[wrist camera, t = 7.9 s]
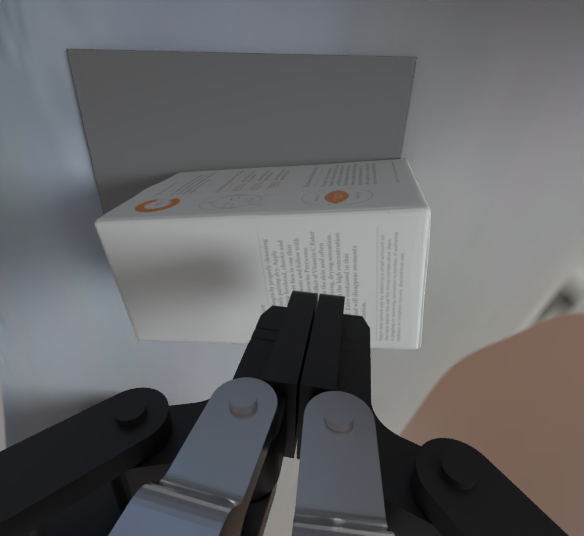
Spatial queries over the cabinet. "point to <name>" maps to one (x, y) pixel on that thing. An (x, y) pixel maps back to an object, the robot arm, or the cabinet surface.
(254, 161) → the mat
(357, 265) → the small box
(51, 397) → the cabinet surface
